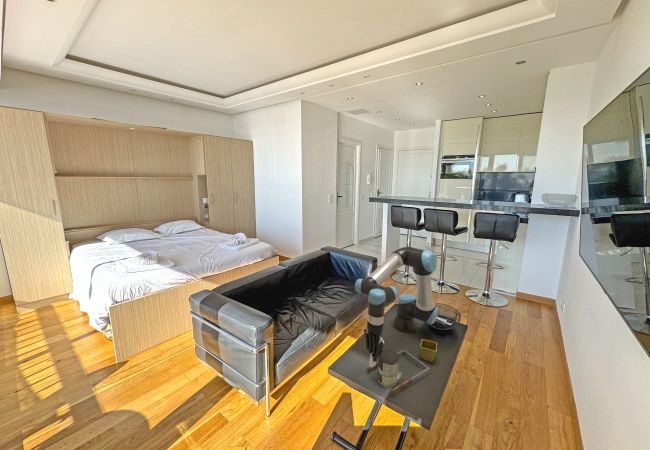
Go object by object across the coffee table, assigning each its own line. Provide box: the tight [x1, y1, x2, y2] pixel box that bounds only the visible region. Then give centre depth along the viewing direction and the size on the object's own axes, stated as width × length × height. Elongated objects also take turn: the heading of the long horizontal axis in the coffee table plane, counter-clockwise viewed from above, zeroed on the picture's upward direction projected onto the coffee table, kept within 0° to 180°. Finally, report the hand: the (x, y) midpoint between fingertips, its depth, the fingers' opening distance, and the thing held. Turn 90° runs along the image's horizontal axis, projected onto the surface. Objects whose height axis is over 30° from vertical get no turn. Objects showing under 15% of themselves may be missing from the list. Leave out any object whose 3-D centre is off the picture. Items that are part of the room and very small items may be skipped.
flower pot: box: [419, 338, 438, 363], centre depth 151 cm, size 9×9×9 cm
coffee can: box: [376, 348, 400, 388], centre depth 134 cm, size 10×10×14 cm
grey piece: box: [396, 349, 431, 386], centre depth 143 cm, size 15×18×3 cm
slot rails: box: [366, 362, 412, 397], centre depth 136 cm, size 14×18×3 cm
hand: (372, 365), depth 127 cm, fingers closed
